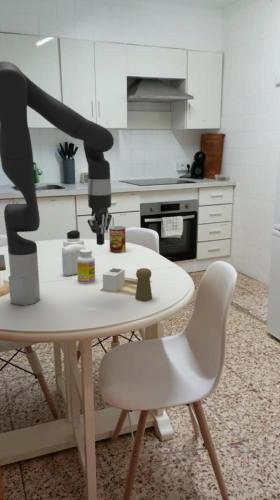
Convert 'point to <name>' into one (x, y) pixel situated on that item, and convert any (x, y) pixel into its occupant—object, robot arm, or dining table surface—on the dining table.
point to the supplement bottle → (86, 267)
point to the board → (127, 287)
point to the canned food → (117, 239)
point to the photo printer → (71, 258)
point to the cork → (143, 285)
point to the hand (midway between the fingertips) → (100, 244)
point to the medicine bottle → (73, 238)
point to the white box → (113, 279)
